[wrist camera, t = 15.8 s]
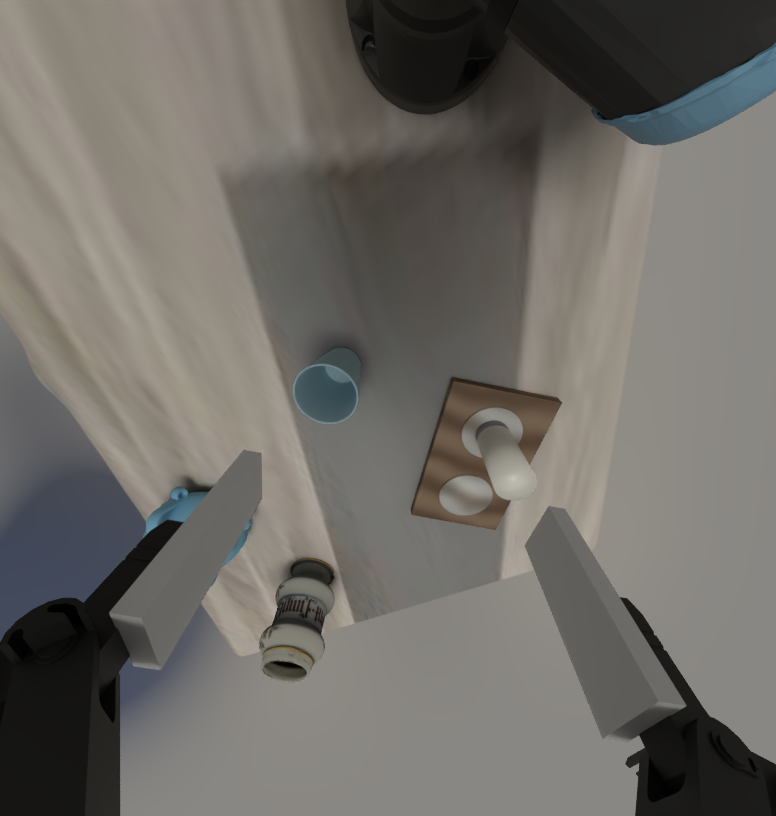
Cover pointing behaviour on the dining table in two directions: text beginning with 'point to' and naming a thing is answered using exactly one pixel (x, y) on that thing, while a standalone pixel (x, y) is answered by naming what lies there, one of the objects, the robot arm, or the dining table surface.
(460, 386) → the seat board
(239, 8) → the dining table surface
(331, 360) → the cup
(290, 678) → the apothecary jar
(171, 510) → the decorative pot
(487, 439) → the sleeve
